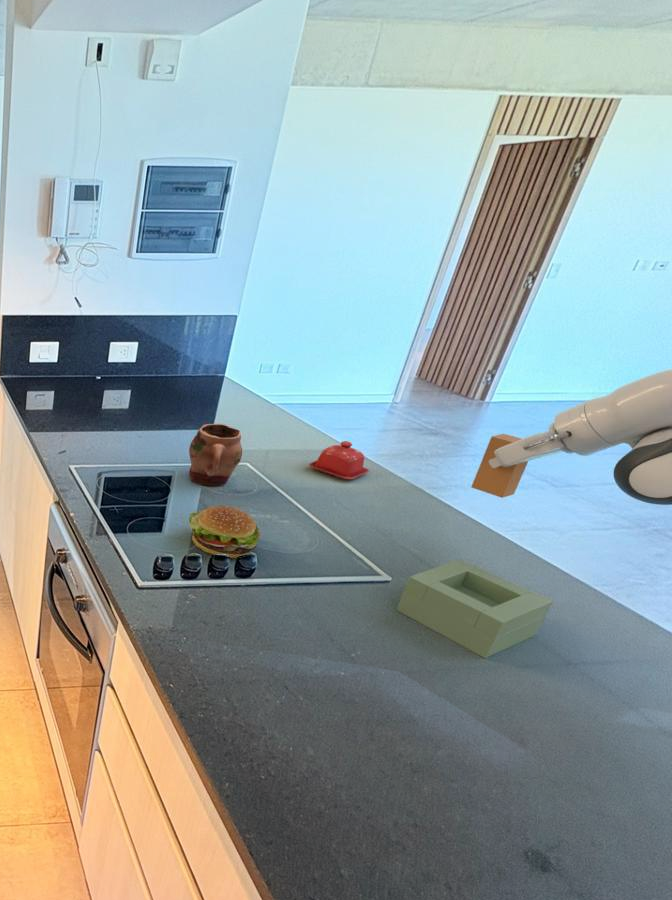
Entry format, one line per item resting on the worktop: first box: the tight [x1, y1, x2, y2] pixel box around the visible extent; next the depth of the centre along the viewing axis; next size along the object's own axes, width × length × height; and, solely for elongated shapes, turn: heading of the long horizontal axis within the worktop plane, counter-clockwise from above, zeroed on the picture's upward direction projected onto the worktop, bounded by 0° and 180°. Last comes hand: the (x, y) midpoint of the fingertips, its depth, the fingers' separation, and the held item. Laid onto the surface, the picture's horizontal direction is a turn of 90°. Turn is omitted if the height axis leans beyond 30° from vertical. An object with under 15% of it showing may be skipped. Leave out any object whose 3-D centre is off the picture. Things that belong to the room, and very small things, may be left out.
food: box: [188, 505, 261, 559], centre depth 126 cm, size 14×14×8 cm
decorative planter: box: [188, 423, 243, 487], centre depth 154 cm, size 20×12×14 cm, turn 165°
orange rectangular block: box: [470, 433, 529, 499], centre depth 122 cm, size 4×6×11 cm
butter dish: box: [308, 440, 371, 480], centre depth 161 cm, size 12×12×8 cm
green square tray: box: [396, 558, 554, 659], centre depth 103 cm, size 14×14×7 cm
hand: (500, 462), depth 122 cm, fingers closed on orange rectangular block, 4 cm apart
